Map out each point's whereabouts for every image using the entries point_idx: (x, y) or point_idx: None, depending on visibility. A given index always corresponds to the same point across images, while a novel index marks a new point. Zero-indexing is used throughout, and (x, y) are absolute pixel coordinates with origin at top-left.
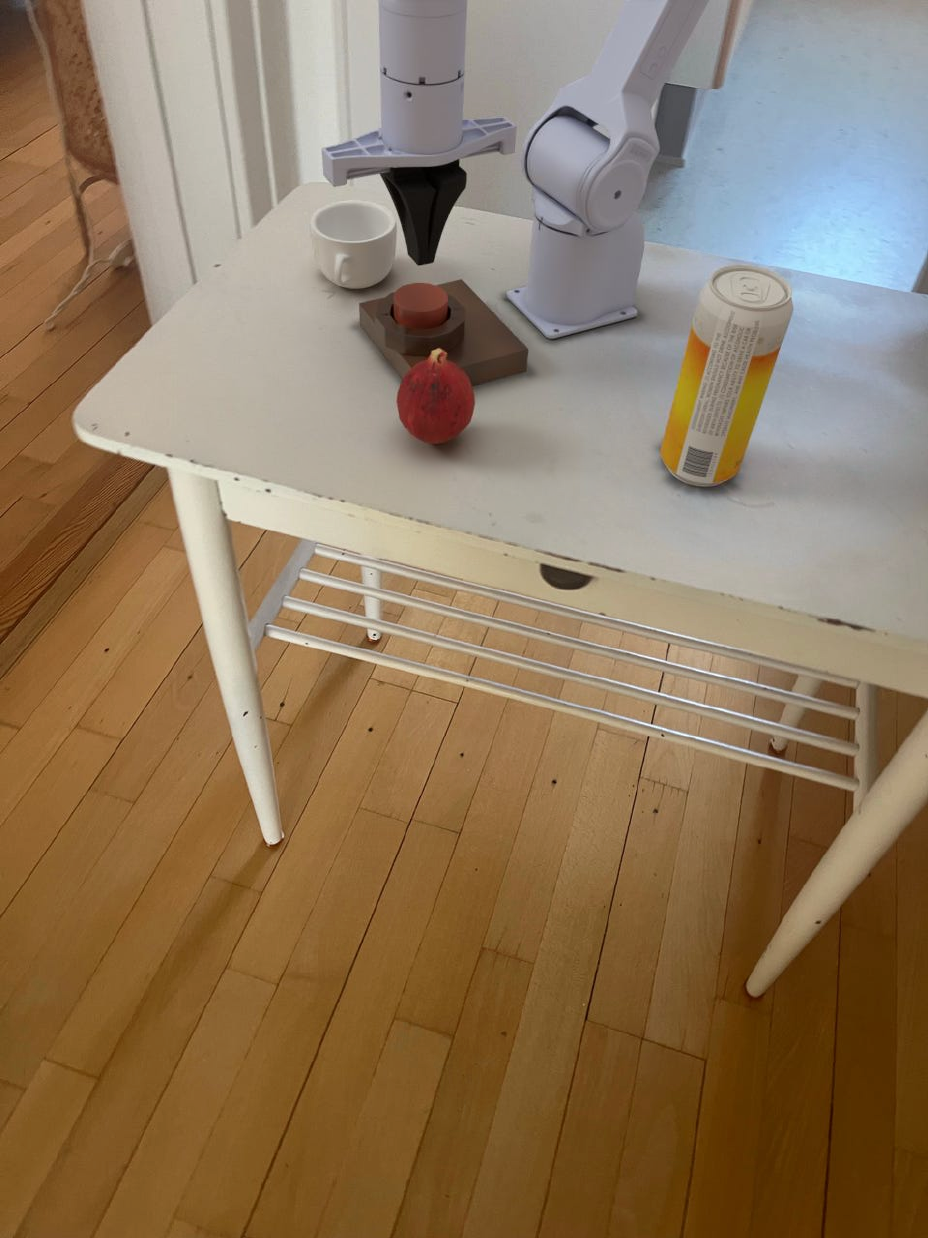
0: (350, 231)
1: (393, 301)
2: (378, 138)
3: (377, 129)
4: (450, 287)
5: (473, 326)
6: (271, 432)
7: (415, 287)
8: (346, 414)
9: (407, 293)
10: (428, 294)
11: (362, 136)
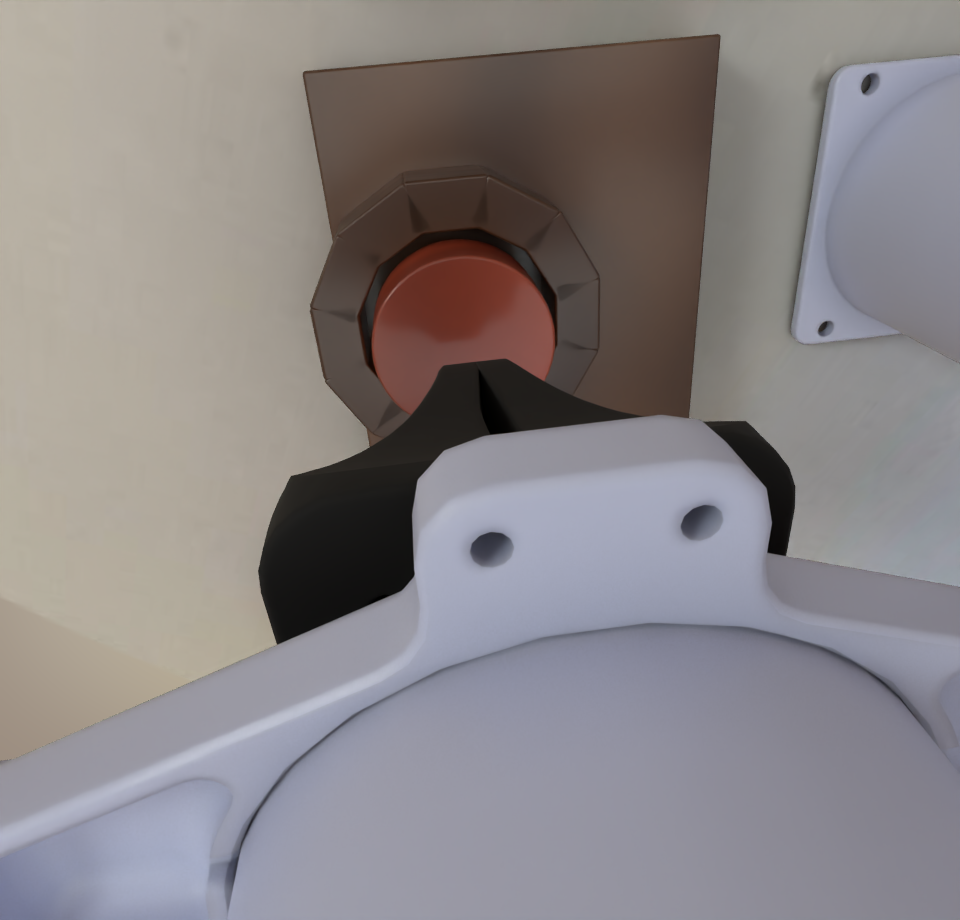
0: None
1: (393, 244)
2: (217, 810)
3: (222, 758)
4: (654, 81)
5: (609, 332)
6: (9, 478)
7: (468, 289)
8: (200, 464)
9: (428, 316)
10: (494, 343)
11: (34, 843)
